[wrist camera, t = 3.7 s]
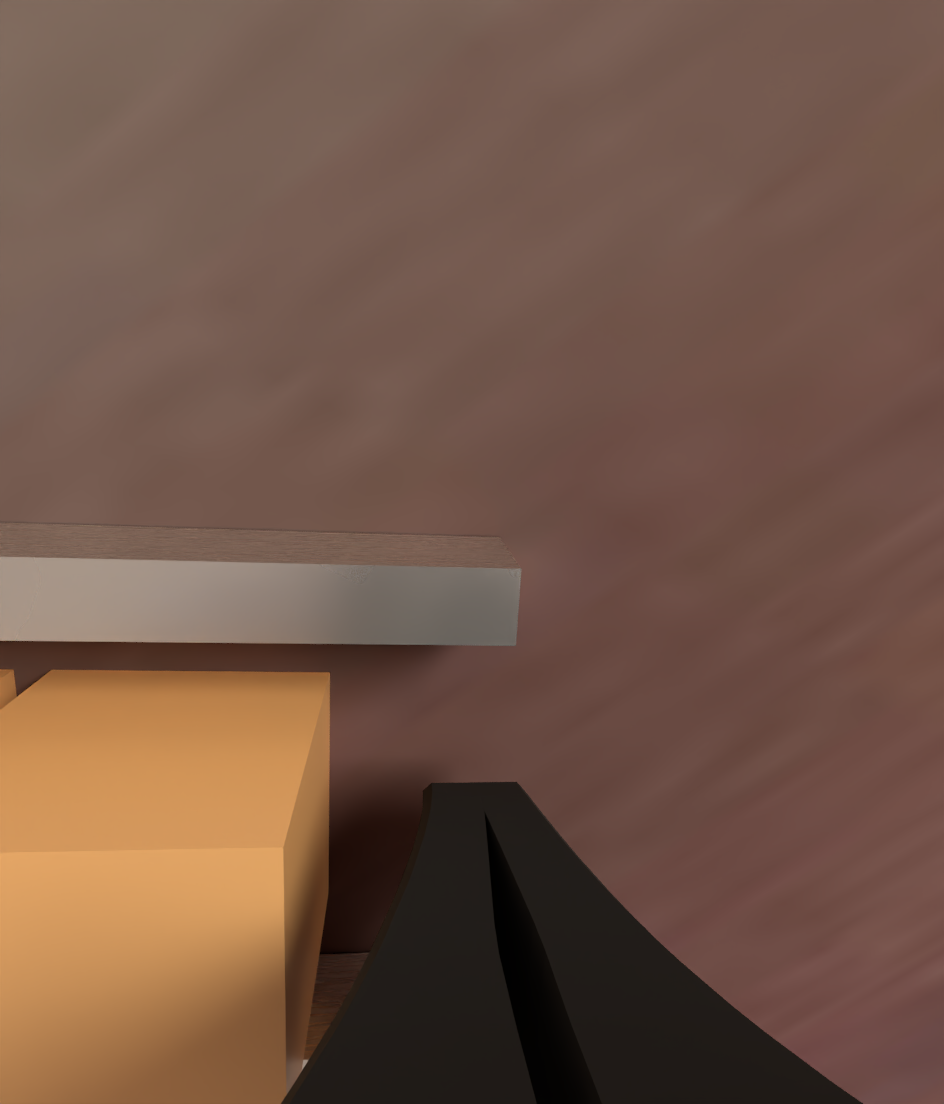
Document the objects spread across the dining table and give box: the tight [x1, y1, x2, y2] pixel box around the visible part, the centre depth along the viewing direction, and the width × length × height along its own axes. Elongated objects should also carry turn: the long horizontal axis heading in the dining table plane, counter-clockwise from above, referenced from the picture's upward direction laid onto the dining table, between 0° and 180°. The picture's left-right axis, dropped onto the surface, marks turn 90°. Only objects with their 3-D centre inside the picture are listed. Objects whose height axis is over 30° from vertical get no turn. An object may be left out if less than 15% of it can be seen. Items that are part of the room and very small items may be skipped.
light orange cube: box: [0, 670, 330, 1104], centre depth 8 cm, size 4×4×4 cm
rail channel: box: [0, 523, 521, 1070], centre depth 9 cm, size 11×8×2 cm
